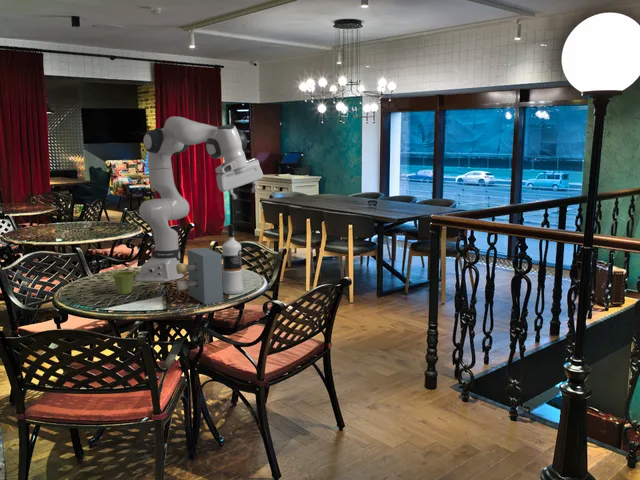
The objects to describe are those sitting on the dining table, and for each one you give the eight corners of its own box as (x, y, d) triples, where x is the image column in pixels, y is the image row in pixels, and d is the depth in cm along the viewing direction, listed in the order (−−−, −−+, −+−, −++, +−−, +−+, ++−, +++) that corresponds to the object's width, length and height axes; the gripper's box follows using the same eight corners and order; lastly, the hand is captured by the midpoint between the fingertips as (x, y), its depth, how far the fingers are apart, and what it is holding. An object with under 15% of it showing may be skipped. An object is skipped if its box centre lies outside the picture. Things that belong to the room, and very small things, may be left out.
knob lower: (180, 291, 238) (180, 282, 237) (177, 289, 241) (176, 280, 241) (211, 287, 245) (211, 277, 245) (208, 285, 249) (207, 276, 248)
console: (204, 304, 237) (202, 256, 234) (189, 295, 252) (187, 249, 249) (223, 301, 241) (221, 254, 238) (206, 292, 256) (205, 247, 253)
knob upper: (179, 274, 237) (179, 265, 236) (176, 273, 240) (176, 263, 240) (211, 270, 244) (210, 261, 243) (207, 269, 247) (207, 259, 247)
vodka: (231, 289, 262) (228, 222, 257) (248, 291, 258) (246, 224, 253) (218, 293, 254) (215, 225, 249) (235, 296, 250) (233, 226, 245)
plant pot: (115, 296, 251) (113, 276, 249) (111, 291, 259) (110, 272, 258) (137, 293, 255) (136, 274, 254) (133, 289, 263) (132, 270, 262)
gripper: (253, 157, 250) (262, 187, 254) (211, 170, 240) (221, 202, 243) (261, 156, 245) (269, 188, 249) (218, 170, 234) (227, 203, 238)
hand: (245, 195), depth 246 cm, fingers open, 8 cm apart
